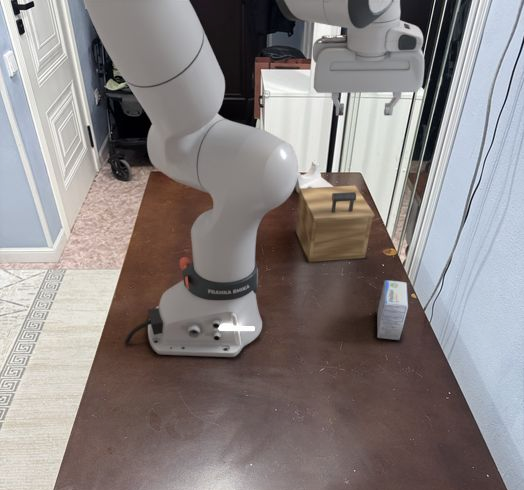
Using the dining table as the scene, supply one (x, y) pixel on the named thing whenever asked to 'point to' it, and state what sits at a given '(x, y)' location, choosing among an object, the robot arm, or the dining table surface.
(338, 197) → the chest lid
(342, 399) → the dining table surface
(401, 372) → the dining table surface
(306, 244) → the chest
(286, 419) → the dining table surface
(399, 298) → the medicine box
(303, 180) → the bracket
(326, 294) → the dining table surface
